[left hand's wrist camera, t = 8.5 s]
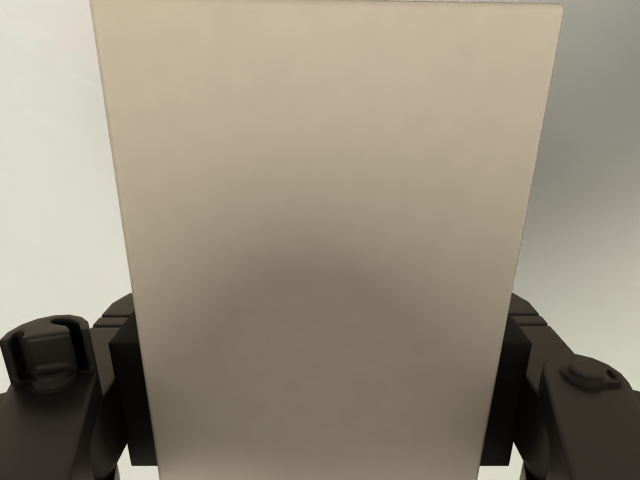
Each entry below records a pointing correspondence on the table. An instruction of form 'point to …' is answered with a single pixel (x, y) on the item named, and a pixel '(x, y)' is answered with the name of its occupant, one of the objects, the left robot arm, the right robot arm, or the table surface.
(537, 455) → the left robot arm
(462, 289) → the bar
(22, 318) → the table surface
